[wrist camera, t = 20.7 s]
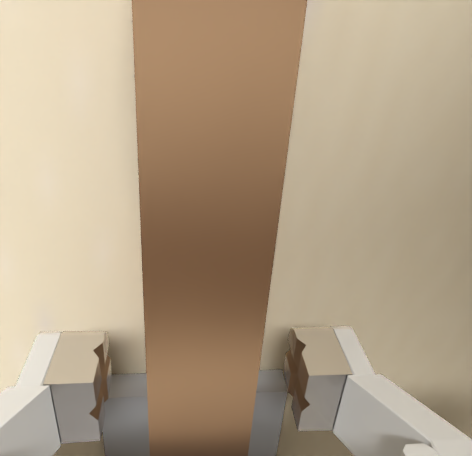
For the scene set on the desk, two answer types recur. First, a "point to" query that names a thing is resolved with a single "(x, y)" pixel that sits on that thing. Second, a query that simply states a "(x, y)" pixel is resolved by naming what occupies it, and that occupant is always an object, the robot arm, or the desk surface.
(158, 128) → the turner
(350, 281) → the desk surface
